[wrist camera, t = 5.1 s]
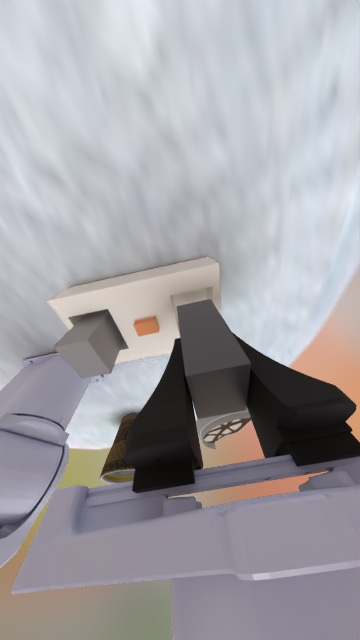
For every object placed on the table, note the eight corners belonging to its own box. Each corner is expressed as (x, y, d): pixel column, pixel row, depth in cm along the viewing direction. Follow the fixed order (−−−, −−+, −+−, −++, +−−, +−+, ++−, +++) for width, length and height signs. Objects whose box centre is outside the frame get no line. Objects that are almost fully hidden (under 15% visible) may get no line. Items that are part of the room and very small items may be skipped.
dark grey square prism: (185, 343, 15) (197, 419, 9) (176, 306, 12) (185, 376, 7) (214, 337, 15) (245, 410, 9) (210, 298, 12) (251, 363, 6)
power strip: (108, 346, 23) (95, 372, 19) (69, 287, 17) (40, 304, 13) (213, 324, 22) (224, 346, 18) (208, 256, 17) (221, 264, 13)
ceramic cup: (135, 431, 40) (126, 486, 31) (106, 419, 35) (87, 479, 27) (173, 416, 37) (175, 471, 28) (148, 400, 32) (141, 461, 23)
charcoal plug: (106, 335, 20) (82, 378, 14) (90, 308, 18) (53, 347, 12) (127, 330, 20) (110, 373, 14) (113, 303, 18) (87, 340, 12)
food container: (215, 345, 25) (241, 406, 16) (240, 357, 27) (274, 416, 18) (177, 384, 30) (181, 446, 21) (200, 391, 32) (213, 450, 23)
